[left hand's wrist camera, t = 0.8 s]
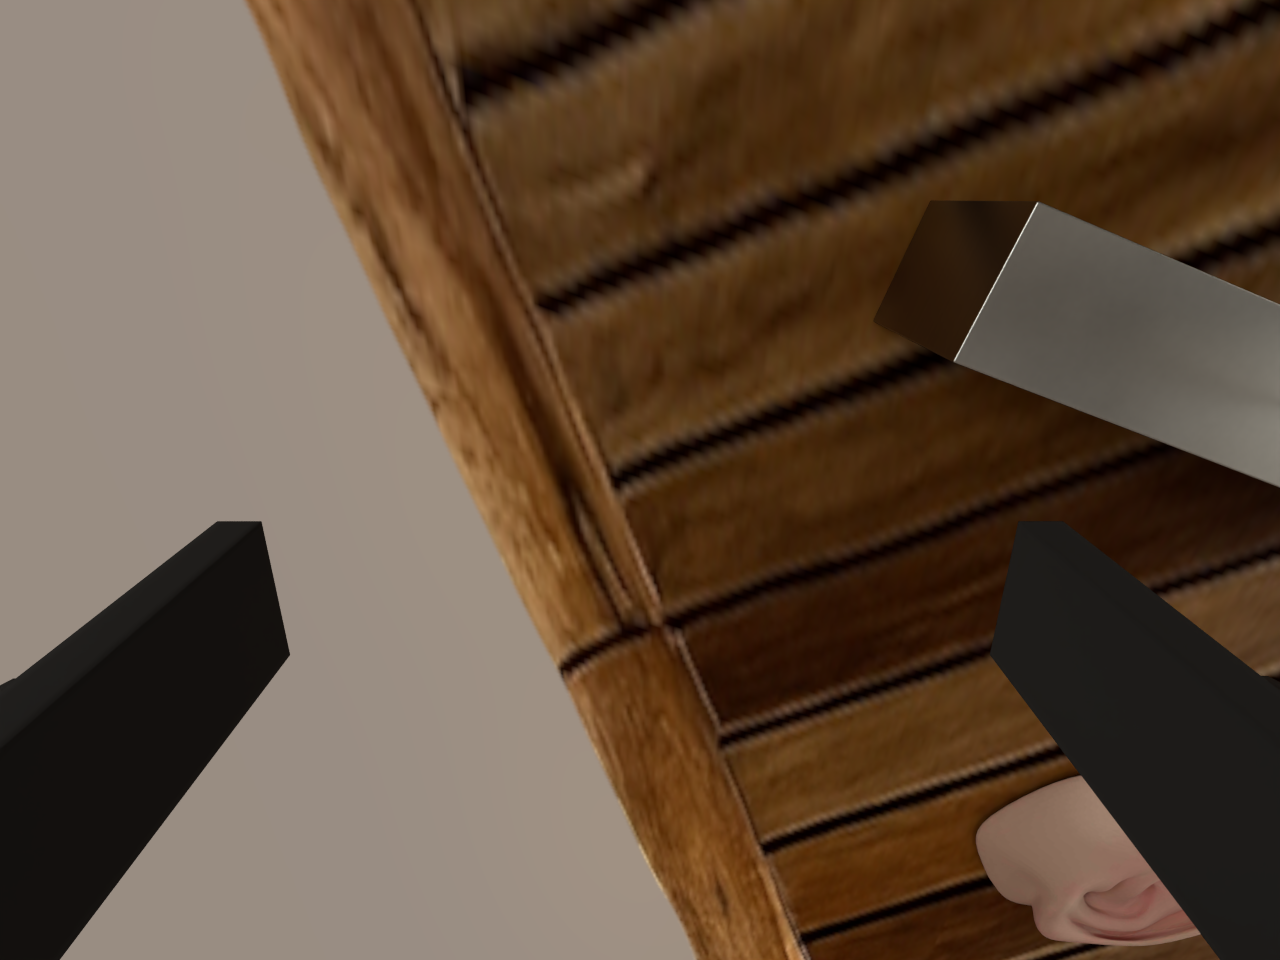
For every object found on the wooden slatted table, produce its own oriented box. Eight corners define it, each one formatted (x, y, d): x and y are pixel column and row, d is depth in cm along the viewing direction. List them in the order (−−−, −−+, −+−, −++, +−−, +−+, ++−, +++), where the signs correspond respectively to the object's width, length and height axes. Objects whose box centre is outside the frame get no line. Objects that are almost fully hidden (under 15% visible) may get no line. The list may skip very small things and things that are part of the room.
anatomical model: (969, 914, 40) (1137, 786, 37) (940, 853, 44) (1090, 732, 40) (1121, 1010, 43) (1288, 899, 40) (1082, 945, 47) (1232, 839, 44)
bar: (872, 321, 32) (953, 362, 24) (930, 200, 30) (1037, 200, 22) (1322, 495, 36) (1524, 581, 28) (1398, 395, 34) (1638, 457, 26)
